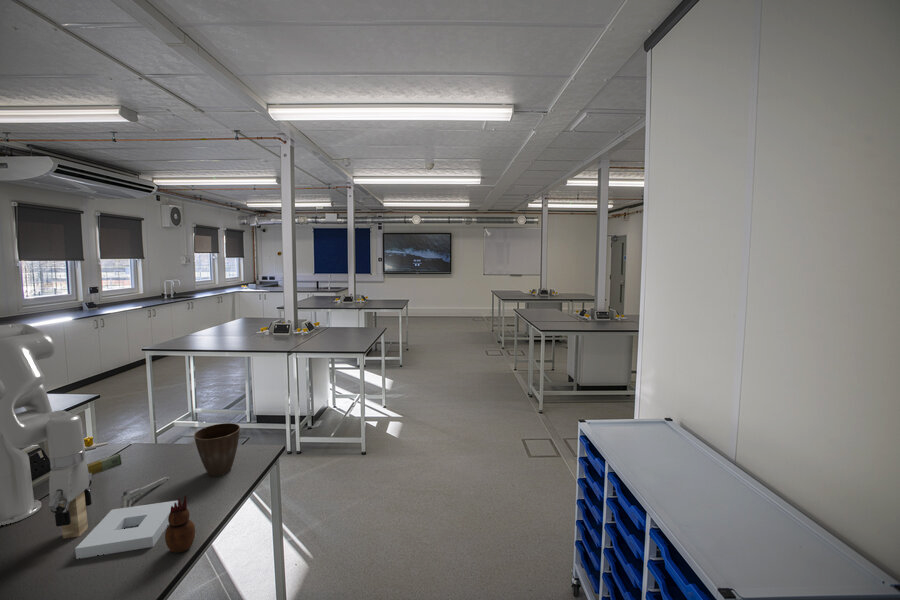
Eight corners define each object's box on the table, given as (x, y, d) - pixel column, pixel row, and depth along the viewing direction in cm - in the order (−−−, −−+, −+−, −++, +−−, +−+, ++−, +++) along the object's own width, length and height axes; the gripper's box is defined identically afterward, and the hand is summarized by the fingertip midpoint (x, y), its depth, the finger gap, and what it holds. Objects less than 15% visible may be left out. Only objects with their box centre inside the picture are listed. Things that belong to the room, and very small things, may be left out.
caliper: (124, 512, 131) (123, 494, 130) (121, 512, 131) (119, 494, 130) (169, 479, 151) (168, 462, 151) (167, 479, 151) (165, 462, 151)
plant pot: (237, 458, 166) (235, 419, 164) (246, 472, 154) (244, 431, 153) (194, 470, 157) (191, 429, 155) (200, 486, 145) (197, 443, 144)
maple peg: (63, 538, 118) (58, 498, 117) (72, 529, 122) (67, 491, 121) (79, 536, 119) (75, 496, 118) (88, 527, 123) (84, 489, 122)
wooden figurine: (200, 541, 116) (196, 490, 115) (187, 555, 111) (183, 502, 109) (175, 542, 116) (171, 491, 115) (162, 556, 110) (157, 503, 109)
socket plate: (76, 559, 110) (75, 548, 110) (112, 518, 127) (112, 509, 127) (153, 546, 114) (152, 536, 114) (178, 509, 132) (177, 500, 132)
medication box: (119, 463, 164) (118, 453, 164) (122, 464, 163) (121, 454, 162) (80, 476, 154) (79, 466, 154) (83, 478, 153) (82, 468, 152)
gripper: (71, 447, 126) (78, 501, 128) (30, 475, 109) (37, 536, 111) (100, 444, 128) (106, 496, 130) (63, 470, 111) (71, 530, 113)
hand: (74, 514), depth 120 cm, fingers open, 9 cm apart
